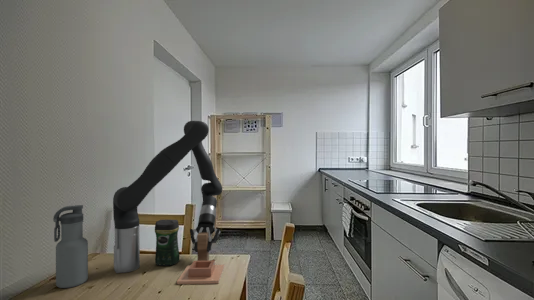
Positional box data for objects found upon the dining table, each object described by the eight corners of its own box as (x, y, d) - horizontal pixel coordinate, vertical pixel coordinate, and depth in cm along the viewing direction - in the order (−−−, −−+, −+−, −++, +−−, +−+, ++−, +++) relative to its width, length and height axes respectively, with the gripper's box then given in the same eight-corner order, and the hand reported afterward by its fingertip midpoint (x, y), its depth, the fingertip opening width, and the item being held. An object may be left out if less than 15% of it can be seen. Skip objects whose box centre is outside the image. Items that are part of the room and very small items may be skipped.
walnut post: (207, 263, 122) (206, 235, 123) (197, 263, 122) (197, 235, 123) (208, 259, 126) (208, 232, 127) (199, 259, 126) (199, 232, 127)
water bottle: (51, 291, 99) (51, 210, 99) (57, 280, 107) (57, 205, 108) (86, 285, 103) (85, 207, 103) (89, 275, 112) (89, 203, 112)
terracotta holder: (218, 283, 103) (218, 272, 103) (176, 284, 103) (176, 273, 103) (224, 267, 118) (224, 257, 118) (187, 267, 118) (187, 257, 118)
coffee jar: (182, 260, 126) (181, 217, 127) (173, 267, 119) (173, 222, 119) (161, 259, 128) (161, 217, 128) (151, 266, 120) (151, 221, 120)
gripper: (190, 212, 132) (183, 247, 120) (221, 212, 132) (217, 246, 120) (193, 221, 137) (187, 255, 125) (223, 220, 137) (219, 255, 125)
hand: (202, 251), depth 123 cm, fingers open, 4 cm apart
